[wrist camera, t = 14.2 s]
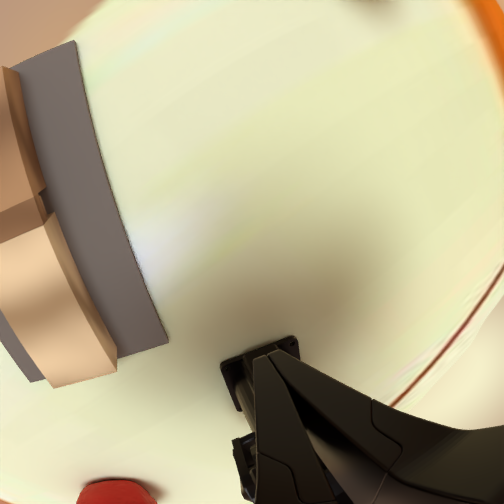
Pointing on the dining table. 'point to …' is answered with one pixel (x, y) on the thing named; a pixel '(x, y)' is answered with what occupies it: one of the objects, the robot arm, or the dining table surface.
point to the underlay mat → (82, 206)
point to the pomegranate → (115, 493)
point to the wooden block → (17, 163)
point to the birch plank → (53, 307)
